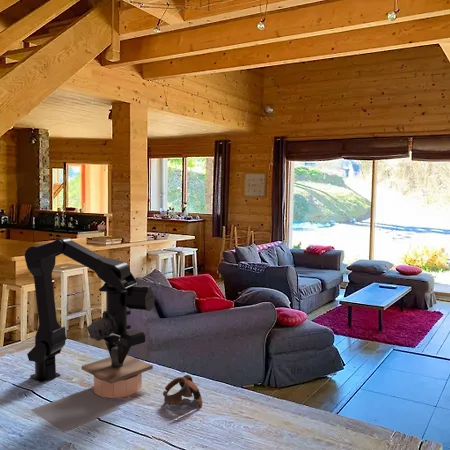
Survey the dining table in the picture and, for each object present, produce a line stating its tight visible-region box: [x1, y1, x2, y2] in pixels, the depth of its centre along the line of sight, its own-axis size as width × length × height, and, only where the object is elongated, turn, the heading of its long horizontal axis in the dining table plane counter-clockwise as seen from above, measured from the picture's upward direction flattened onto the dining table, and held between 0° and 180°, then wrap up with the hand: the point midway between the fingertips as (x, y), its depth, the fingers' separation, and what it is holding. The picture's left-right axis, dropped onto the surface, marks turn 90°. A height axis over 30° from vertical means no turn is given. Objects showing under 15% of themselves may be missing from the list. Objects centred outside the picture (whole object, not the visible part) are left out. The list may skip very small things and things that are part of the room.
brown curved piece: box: [162, 374, 204, 409], centre depth 128 cm, size 12×10×8 cm
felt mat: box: [31, 389, 122, 433], centre depth 124 cm, size 16×16×1 cm
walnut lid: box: [81, 347, 154, 384], centre depth 136 cm, size 14×14×6 cm
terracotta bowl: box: [92, 372, 143, 399], centre depth 137 cm, size 13×13×5 cm
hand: (117, 361), depth 136 cm, fingers closed on walnut lid, 3 cm apart
